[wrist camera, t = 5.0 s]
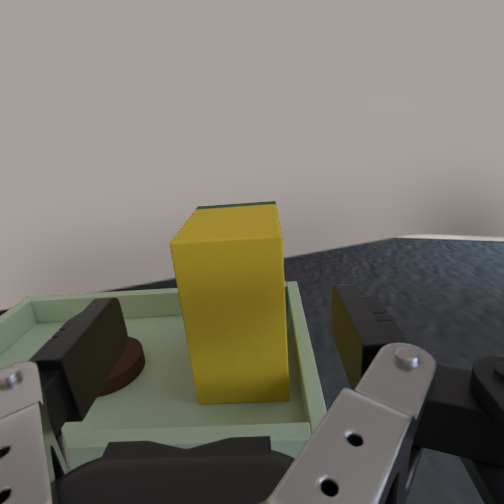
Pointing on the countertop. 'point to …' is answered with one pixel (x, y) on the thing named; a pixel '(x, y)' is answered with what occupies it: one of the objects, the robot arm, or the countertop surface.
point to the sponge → (234, 302)
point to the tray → (169, 378)
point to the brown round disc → (125, 368)
